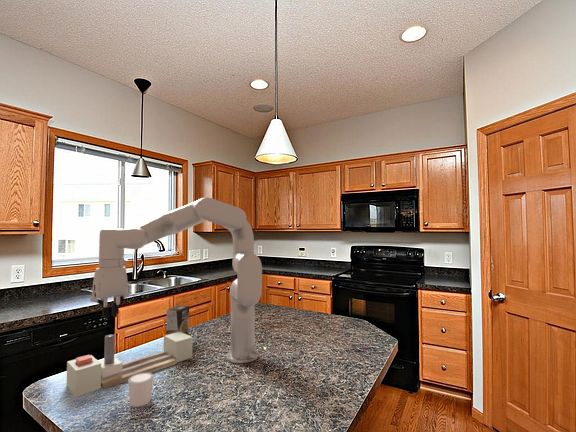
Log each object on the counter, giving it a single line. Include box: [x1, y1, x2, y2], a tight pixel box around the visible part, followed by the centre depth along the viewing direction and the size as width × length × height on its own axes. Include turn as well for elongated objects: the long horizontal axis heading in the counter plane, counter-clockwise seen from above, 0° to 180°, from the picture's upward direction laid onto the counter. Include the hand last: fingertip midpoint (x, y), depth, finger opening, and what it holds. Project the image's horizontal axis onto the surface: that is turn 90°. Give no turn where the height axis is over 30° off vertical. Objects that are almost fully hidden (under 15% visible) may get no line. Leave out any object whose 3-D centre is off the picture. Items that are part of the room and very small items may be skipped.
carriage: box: [98, 334, 123, 378], centre depth 107 cm, size 7×6×12 cm
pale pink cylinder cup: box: [127, 373, 154, 408], centre depth 93 cm, size 7×7×7 cm
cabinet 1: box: [66, 354, 102, 398], centre depth 101 cm, size 10×7×8 cm
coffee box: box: [165, 305, 190, 336], centre depth 140 cm, size 9×6×16 cm
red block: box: [75, 354, 92, 367], centre depth 101 cm, size 4×4×4 cm
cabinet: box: [163, 332, 194, 364], centre depth 126 cm, size 10×7×8 cm
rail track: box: [101, 350, 177, 390], centre depth 113 cm, size 12×25×2 cm, turn 138°
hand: (110, 316), depth 108 cm, fingers closed
